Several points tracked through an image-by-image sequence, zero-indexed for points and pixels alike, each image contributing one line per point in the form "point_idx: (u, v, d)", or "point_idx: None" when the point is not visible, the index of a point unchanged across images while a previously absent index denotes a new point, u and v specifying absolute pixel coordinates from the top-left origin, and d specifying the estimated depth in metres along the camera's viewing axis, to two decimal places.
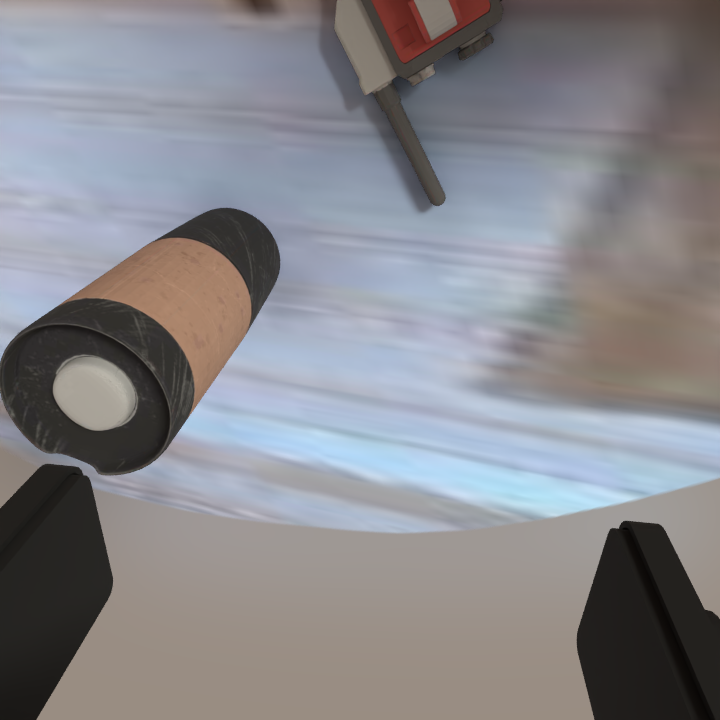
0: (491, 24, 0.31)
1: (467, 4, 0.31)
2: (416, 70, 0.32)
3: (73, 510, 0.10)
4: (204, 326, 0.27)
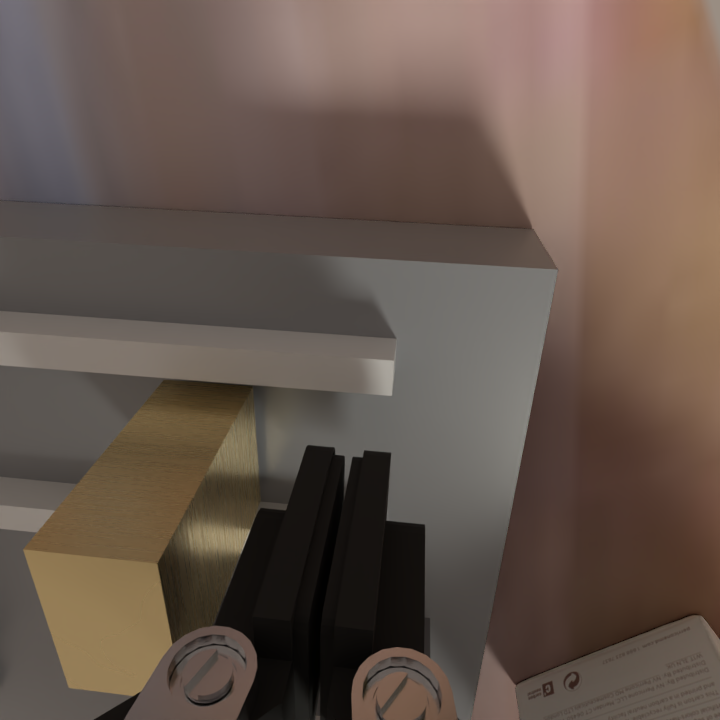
0: None
1: None
2: None
3: (340, 487, 0.10)
4: None
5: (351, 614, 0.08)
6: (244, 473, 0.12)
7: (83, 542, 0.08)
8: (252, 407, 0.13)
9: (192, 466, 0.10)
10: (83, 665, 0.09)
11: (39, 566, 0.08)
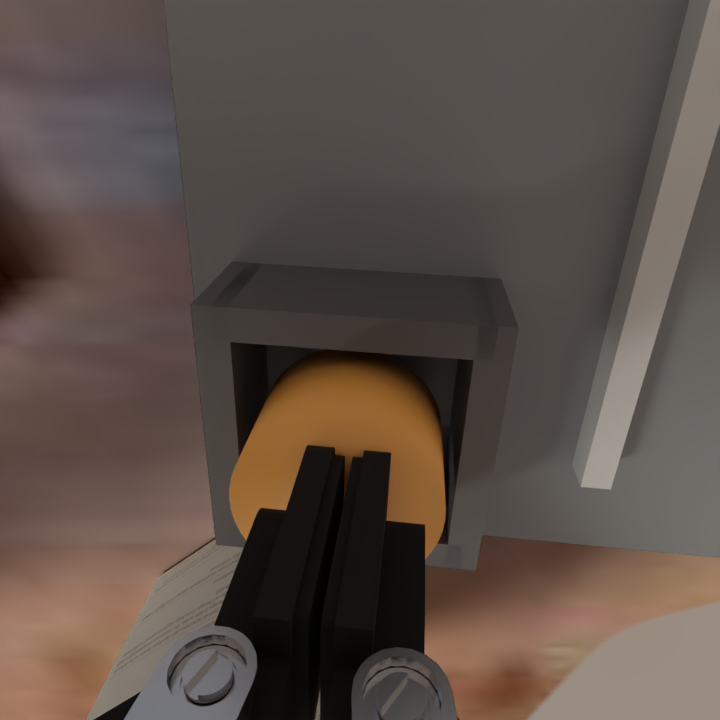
0: None
1: None
2: None
3: (340, 487, 0.10)
4: None
5: (351, 614, 0.07)
6: None
7: None
8: None
9: None
10: None
11: None
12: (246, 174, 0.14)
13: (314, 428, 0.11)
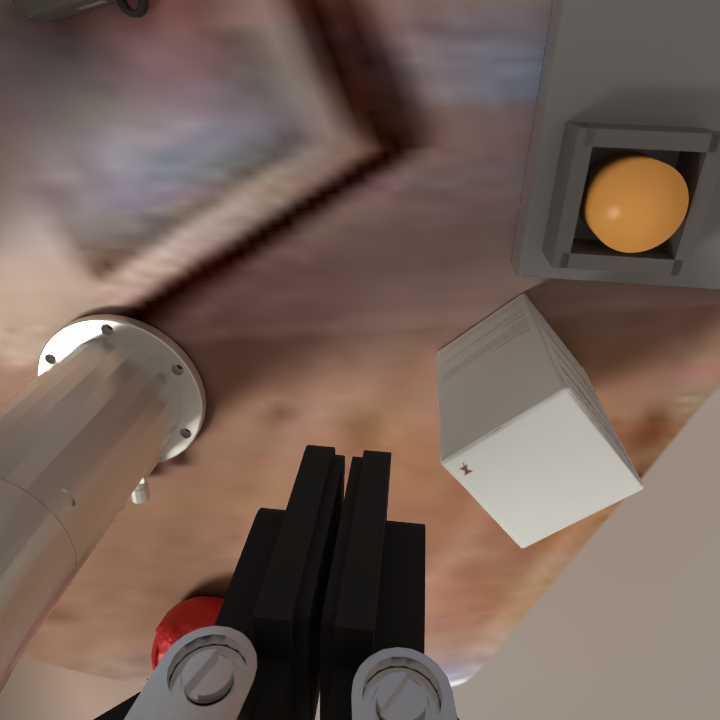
0: None
1: None
2: None
3: (340, 487, 0.10)
4: None
5: (351, 614, 0.07)
6: None
7: None
8: None
9: None
10: None
11: None
12: (584, 75, 0.29)
13: (640, 166, 0.27)
